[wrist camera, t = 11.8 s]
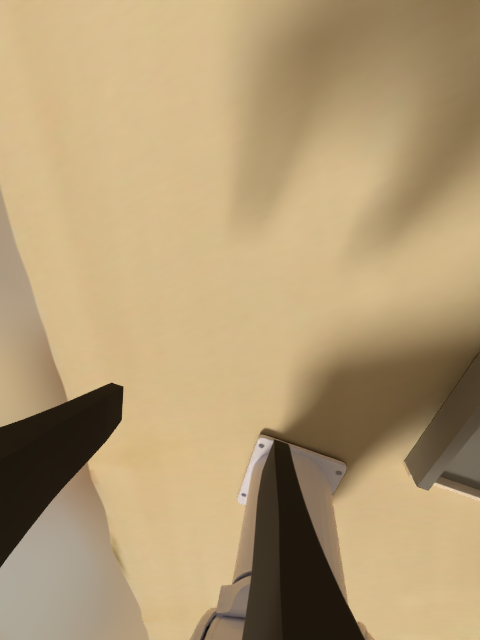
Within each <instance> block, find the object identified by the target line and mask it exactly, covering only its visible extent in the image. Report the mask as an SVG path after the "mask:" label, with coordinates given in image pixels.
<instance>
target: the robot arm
mask: <svg viewBox="0 0 480 640" xmlns="http://www.w3.org/2000/svg"><path fill="white" fill-rule="evenodd" d="M122 404H123V386H120V385H117V384H114V383H110V384H107V385H105V386H103V387H100V388H98V389H96V390H93V391H91V392H89V393H87V394H84V395H82V396H80V397H78V398H75V399H73V400H71V401H68V402H66V403H64V404H61V405H59V406H57V407H54V408H51V409H49V410H46V411H44V412H41V413H39V414H36V415H34V416H31V417H29V418H26V419H24V420H20V421H18V422H15V423H12V424H9V425H6V426H3V427H0V567H1V566H2V565H3V563H4V562H5V560H6V559H7V558H8V556H9V555H10V554H11V552H12V551H13V550H14V548H15V547H16V546H17V545H18V543H19V542H20V541H21V539H22V538H23V537H24V535H25V534H26V533H27V531H28V530H29V529H30V528H31V526H32V525H33V524H34V522H35V521H36V520H37V519H38V517H39V516H40V515H41V513H42V512H43V511H44V510H45V508H46V507H47V506H48V505H49V504H50V502H51V501H52V500H53V498H54V497H55V496H56V495H57V494H58V493H59V492H60V491H61V489H62V488H63V487H64V486H65V485H66V484H67V483H68V482H69V481H70V479H72V478H73V476H74V475H75V474H76V473H77V472H78V471H79V470H80V469H81V468H82V467H83V466H84V465H85V463H86V462H87V461H88V460H89V459H90V458H91V457H92V456H93V455H94V454H95V453H96V452H97V451H98V450H99V448H100V447H101V446H102V445H103V444H104V443H105V442H106V441H107V439H108V438H109V437H110V435H111V434H112V433H113V431H114V430H115V429H116V427H117V426H118V424H119V423H120V422H121V420H122ZM261 444H263V445H261ZM346 470H347V468H346V464H345V463H344V462H342V461H339V460H336V459H333V458H330V457H327V456H324V455H321V454H318V453H316V452H313V451H310V450H307V449H304V448H301V447H298V446H295V445H292V444H290V443H287V442H284V441H281V440H278V439H275V438H272V437H269V436H266V435H259V436H258V439H257V442H256V445H255V447H254V450H253V453H252V456H251V459H250V462H249V465H248V468H247V471H246V474H245V476H244V479H243V482H242V485H241V488H240V491H239V494H238V497H237V501H238V502H239V503H240V504H243V505H245V506H246V507H245V512H244V518H243V524H242V530H241V535H240V541H239V547H238V553H237V558H236V564H235V570H234V576H233V581H232V585H227V586H221V590H220V595H219V600H218V605H217V607H216V608H211V609H210V610H208V611H207V612H206V613H205V614H204V615H203V616H202V618H201V620H200V621H199V623H198V625H197V626H196V629H195V631H194V633H193V635H192V637H191V639H190V640H375V639H374V638H373V637H372V636H371V634H370V633H369V632H367V629H366V627H365V626H364V624H363V623H361V622H357V621H356V620H355V618H354V616H353V614H352V612H351V610H350V608H349V606H348V600H347V594H346V587H345V580H344V574H343V567H342V561H341V554H340V547H339V541H338V534H337V528H336V521H335V514H334V508H333V501H332V495H333V493H334V491H335V490H336V488H337V486H338V484H339V483H340V481H341V479H342V478H343V476H344V474H345V472H346Z"/></svg>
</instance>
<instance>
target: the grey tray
mask: <svg viewBox="0 0 480 640" xmlns="http://www.w3.org/2000/svg"><path fill="white" fill-rule="evenodd" d="M403 465H404V467H405V470H406V472H407V474H408V476H409V477H411V478H413V480H414V482H415V484H416V486H417V487H419V488H422V489H425V490H429V489H430V488H431V487H432V485H434V486H437V487H440V488H443V489H446V490H449V491H452V492H454V493H457V494H460V495H463V496H466V497H469V498H472V499H475V500H478V501H480V352H479V354H478V355H477V356H476V358H475V359H474V361H473V362H472V364H471V365H470V367H469V368H468V370H467V371H466V372H465V374H464V375H463V377H462V378H461V380H460V381H459V383H458V384H457V385H456V387H455V388H454V390H453V391H452V393H451V394H450V396H449V397H448V399H447V400H446V401H445V403H444V404H443V406H442V407H441V409H440V410H439V412H438V413H437V414H436V416H435V417H434V419H433V420H432V422H431V423H430V425H429V426H428V428H427V429H426V430H425V432H424V433H423V435H422V436H421V438H420V439H419V441H418V442H417V443H416V445H415V446H414V448H413V449H412V451H411V452H410V454H409V455H408V456H407V458H406V459H405V461H404V462H403Z"/></svg>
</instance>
